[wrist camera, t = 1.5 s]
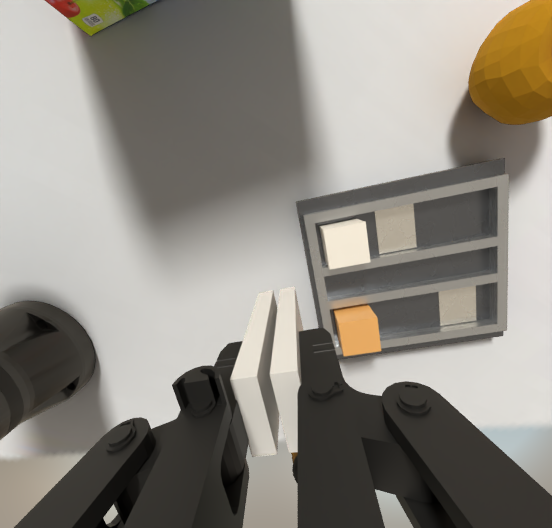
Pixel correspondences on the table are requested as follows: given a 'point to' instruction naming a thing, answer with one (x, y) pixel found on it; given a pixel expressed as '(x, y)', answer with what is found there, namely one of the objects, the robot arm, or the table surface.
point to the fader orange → (357, 330)
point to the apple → (516, 66)
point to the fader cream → (345, 243)
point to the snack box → (97, 11)
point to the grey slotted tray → (418, 256)
